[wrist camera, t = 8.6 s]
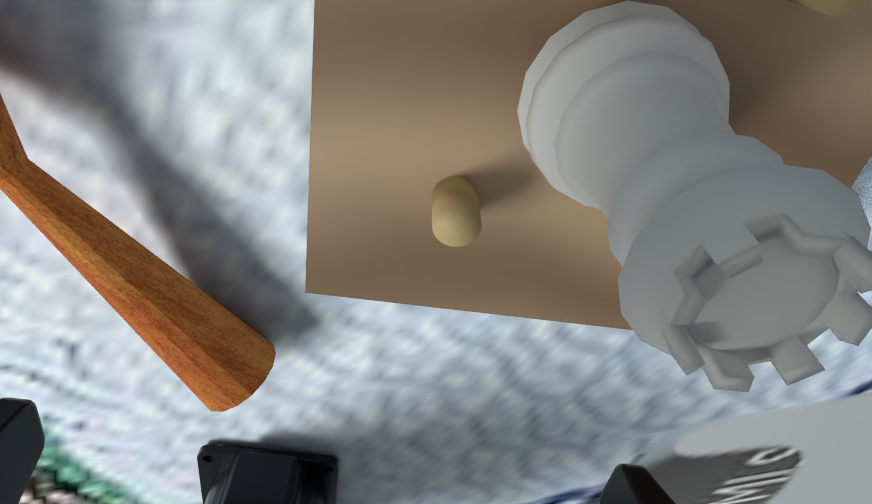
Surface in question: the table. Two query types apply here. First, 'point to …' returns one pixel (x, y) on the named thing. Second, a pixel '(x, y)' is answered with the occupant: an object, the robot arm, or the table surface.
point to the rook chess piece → (695, 199)
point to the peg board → (507, 155)
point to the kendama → (140, 285)
